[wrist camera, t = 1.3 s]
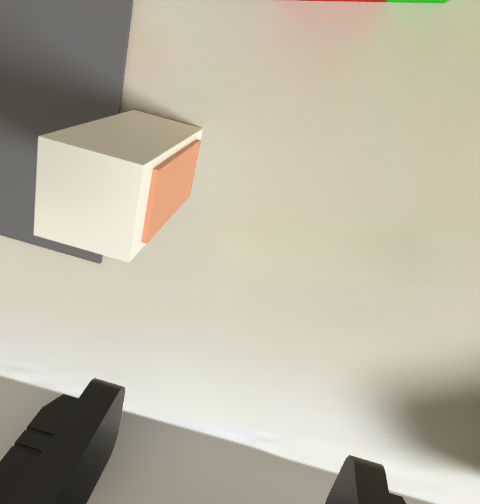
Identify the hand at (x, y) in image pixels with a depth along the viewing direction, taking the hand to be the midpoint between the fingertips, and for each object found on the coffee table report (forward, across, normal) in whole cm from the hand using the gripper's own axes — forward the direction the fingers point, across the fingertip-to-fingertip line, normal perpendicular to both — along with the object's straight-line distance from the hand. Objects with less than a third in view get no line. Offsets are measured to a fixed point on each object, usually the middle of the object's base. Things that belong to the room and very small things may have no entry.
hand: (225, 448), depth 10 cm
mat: (+23, +18, 0) cm, 30 cm away
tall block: (+23, +9, 0) cm, 25 cm away
